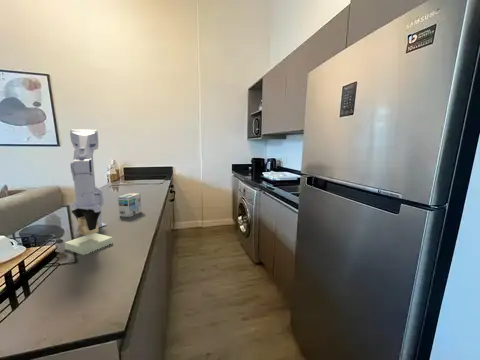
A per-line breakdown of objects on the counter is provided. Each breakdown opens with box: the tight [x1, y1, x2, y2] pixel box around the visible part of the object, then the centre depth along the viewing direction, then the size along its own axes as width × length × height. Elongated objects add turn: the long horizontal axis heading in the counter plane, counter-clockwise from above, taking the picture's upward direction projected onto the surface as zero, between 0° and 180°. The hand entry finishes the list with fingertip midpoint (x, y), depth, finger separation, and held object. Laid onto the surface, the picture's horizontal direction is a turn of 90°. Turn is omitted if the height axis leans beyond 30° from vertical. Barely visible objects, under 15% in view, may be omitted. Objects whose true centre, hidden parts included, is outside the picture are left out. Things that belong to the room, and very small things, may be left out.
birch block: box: [77, 216, 99, 236], centre depth 89 cm, size 4×4×6 cm
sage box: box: [64, 232, 114, 256], centre depth 90 cm, size 11×11×3 cm
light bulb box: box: [117, 192, 142, 218], centre depth 131 cm, size 11×7×11 cm, turn 168°
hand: (88, 228), depth 89 cm, fingers closed on birch block, 4 cm apart
